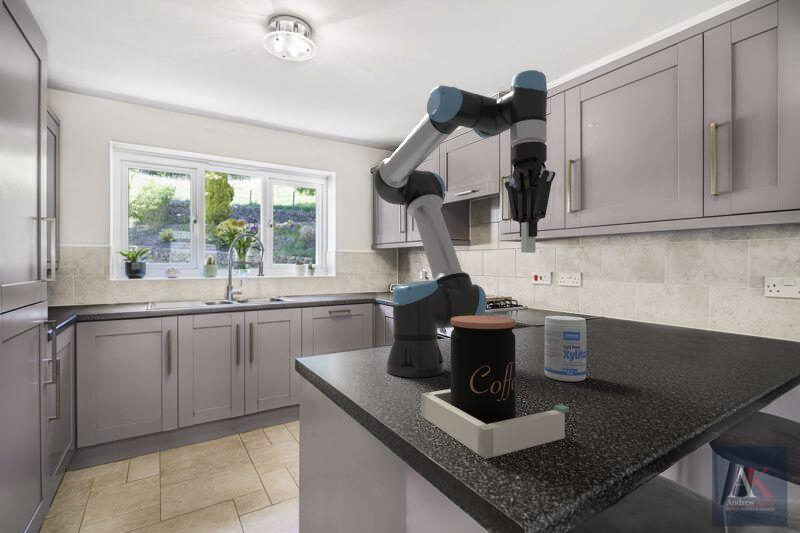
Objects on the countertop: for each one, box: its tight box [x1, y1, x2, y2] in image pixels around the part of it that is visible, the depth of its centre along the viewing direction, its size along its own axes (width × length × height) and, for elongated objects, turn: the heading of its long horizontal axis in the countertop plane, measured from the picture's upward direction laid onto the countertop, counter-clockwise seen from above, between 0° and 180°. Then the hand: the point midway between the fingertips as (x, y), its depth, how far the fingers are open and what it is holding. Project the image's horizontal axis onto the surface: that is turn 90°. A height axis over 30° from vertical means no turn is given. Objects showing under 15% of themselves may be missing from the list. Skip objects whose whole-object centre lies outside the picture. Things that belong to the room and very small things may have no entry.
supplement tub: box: [543, 315, 587, 383], centre depth 96 cm, size 10×10×15 cm
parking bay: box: [420, 388, 570, 460], centre depth 66 cm, size 18×16×5 cm
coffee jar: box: [450, 315, 517, 424], centre depth 66 cm, size 11×11×18 cm
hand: (528, 252), depth 86 cm, fingers closed
